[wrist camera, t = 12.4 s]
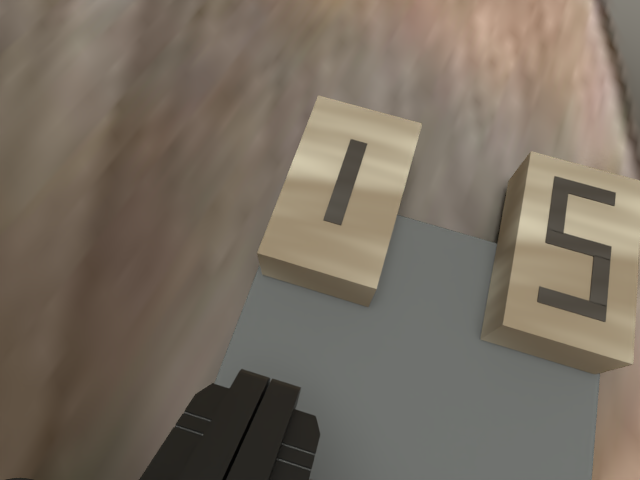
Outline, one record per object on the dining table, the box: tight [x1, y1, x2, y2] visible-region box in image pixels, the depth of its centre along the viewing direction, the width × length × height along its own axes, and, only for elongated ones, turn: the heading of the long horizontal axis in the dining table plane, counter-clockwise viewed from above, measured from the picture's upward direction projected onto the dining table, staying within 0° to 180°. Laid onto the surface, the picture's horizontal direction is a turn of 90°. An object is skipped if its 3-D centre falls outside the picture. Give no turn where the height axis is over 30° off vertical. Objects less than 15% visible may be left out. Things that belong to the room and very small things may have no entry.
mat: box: [214, 215, 600, 480], centre depth 20 cm, size 14×11×1 cm
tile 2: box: [480, 152, 640, 374], centre depth 20 cm, size 2×4×8 cm
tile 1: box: [257, 96, 422, 307], centre depth 20 cm, size 2×4×8 cm
